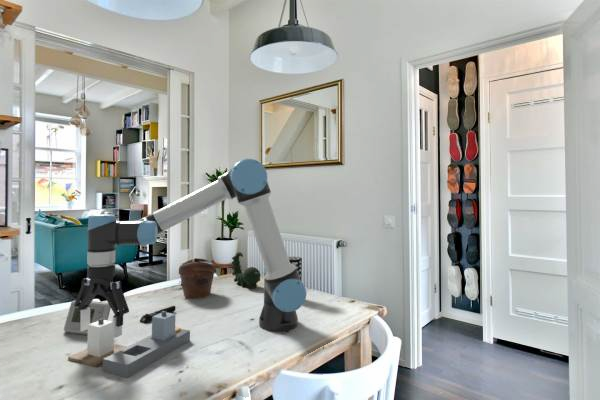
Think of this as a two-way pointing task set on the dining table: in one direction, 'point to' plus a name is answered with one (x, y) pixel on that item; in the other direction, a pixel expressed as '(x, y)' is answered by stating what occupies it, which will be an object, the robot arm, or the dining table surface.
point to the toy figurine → (245, 273)
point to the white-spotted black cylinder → (297, 264)
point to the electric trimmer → (148, 317)
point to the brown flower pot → (197, 277)
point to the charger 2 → (163, 326)
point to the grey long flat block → (143, 353)
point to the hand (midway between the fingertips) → (100, 333)
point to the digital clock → (96, 312)
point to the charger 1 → (100, 338)
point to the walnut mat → (93, 360)
